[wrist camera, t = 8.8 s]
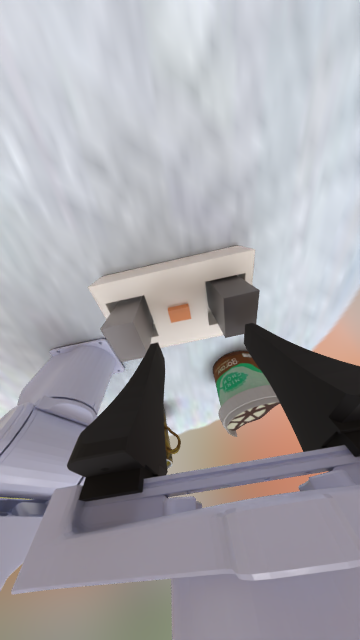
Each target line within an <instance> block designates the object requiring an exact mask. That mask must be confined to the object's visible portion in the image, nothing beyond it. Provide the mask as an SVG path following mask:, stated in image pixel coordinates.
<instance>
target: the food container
mask: <svg viewBox="0 0 360 640" xmlns="http://www.w3.org/2000/svg"><path fill="white" fill-rule="evenodd" d="M213 374H214V378H215V383H216V387H217V392H218V396H219V401H220V405H221V408H220V410H219V418H220V420H221V422H222V424H223V426H224V428H225V429H226V430H227V432H228V433H229V434H230V435H232V436H236V437H237V434H236V430H237V429H238V428H240V427H241V426H243V425H245V424H246V423H249V422H252V421H255V420H258V419H260V418H262V417H263V416H264V415H265V414H267V413H268V412H269V411H270V410H271V409H272V408H273V407H275V406H276V405H278V404H280V402H279V400H278V398H277V396H276V394H275V392H274V391H273V389H272V387H271V385H270V384H269V382H268V380H267V379H266V377H265V376H264V374H263V373H262V371H261V370H260V369H259V367H258V366H257V364H256V363H255V361H254V360H253V358H252V357H251V355H250V354H249V352H248V351H236V352H232V353H229V354H226V355H224V356H223V357H221V358H220V359H219V360H218V361H217V362H216V363H215V365H214V367H213Z"/></svg>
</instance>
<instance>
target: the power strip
mask: <svg viewBox="0 0 360 640" xmlns="http://www.w3.org/2000/svg"><path fill="white" fill-rule="evenodd" d="M254 256H255V249H251V248H247V247H243V246H238V245H237V246H233V247H228V248H224V249H220V250H215V251H211V252H206V253H202V254H198V255H193V256H189V257H185V258H180V259H176V260H171V261H167V262H163V263H158V264H154V265H150V266H145V267H141V268H136V269H132V270H128V271H123V272H119V273H115V274H110V275H106V276H102V277H101V278H99V279H98V280H97V281H95V282H94V283H93V284H91V285H90V286H89V287H88V289H89V290H90V292H91V294H92V296H93V297H94V299H95V301H96V302H97V304H98V306H99V308H100V309H101V311H102V313H103V315H104V316H105V318H106V320H107V318H108V317H109V315H110V314H111V312H112V311H113V309H114V307H115V306H116V304H117V303H118V301H120V300H125V299H129V298H134V297H138V296H143V295H144V296H145V299H146V302H147V304H148V307H149V310H150V313H151V315H152V318H153V321H154V322H153V330H152V337H151V344H152V343H157V342H158V343H159V346H160V348H163V347H168V346H173V345H178V344H183V343H187V342H192V341H197V340H202V339H207V338H212V337H217V336H222V335H224V334H223V333H222V331H221V329H220V327H219V325H218V323H217V321H216V320H215V318H214V316H213V314H212V312H211V310H210V308H209V307H208V300H207V291H206V281H211V280H215V279H220V278H224V277H229V276H234V275H237V276H239V277H240V278H242V279H243V280H245V281H246V282H248V283H249V284H251V285H252V280H253V268H254Z"/></svg>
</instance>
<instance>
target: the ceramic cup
mask: <svg viewBox="0 0 360 640" xmlns="http://www.w3.org/2000/svg"><path fill="white" fill-rule="evenodd" d="M167 429H168V430H169V432H170V433H172V434H173V435H174V436H176V437H177V439H178V445H177V447H176V448H175V449H173V450H172V449H171V447H170V441H169V436H168V430H167ZM164 430H165V446H166V460H167V469H168V468H170V467H171V466H172V464H173V461H172V454H175V453H177V452H178V451H179V449H180V444H181V441H180V438H179V436H178V435H177V434H176V433H174V432H173V431H171V429H170V428H169V427H167V423H166V416H165V410H164Z"/></svg>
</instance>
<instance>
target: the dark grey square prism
mask: <svg viewBox="0 0 360 640" xmlns="http://www.w3.org/2000/svg"><path fill="white" fill-rule="evenodd" d="M206 291H207V300H208V307H209V308H210V310H211V312H212V314H213V316H214V318H215V320H216V321H217V323H218V325H219V327H220V329H221V331H222V333H223V334H224V336H225V338H227V337H231V336H236V335H241V334H245V324H249V323H254V324H256V319H257V310H258V300H259V290H258V289H257V288H255V287H254V286H252V285H251V284H249V283H248V282H246V281H245V280H243V279H242V278H240V277H239V276H237V275H234V276H229V277H224V278H220V279H215V280H211V281H206Z"/></svg>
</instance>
